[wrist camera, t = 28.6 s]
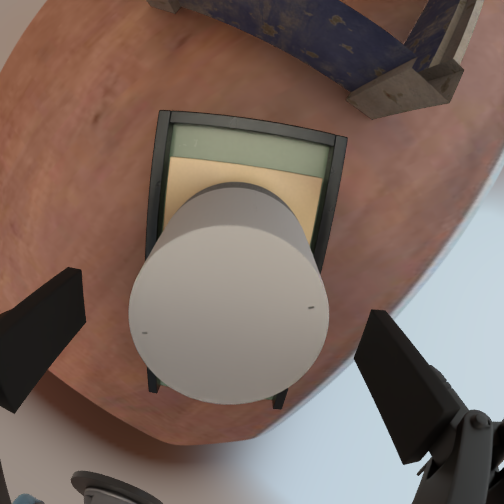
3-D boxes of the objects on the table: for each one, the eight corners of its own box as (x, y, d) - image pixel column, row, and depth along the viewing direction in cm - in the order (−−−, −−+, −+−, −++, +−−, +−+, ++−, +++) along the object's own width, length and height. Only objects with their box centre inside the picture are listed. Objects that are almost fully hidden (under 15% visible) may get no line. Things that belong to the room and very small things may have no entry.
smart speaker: (285, 168, 22) (339, 186, 9) (302, 278, 25) (350, 398, 12) (166, 192, 23) (69, 242, 9) (193, 297, 25) (151, 422, 12)
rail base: (280, 394, 32) (282, 409, 30) (153, 377, 31) (147, 391, 29) (340, 139, 24) (349, 137, 21) (166, 113, 23) (157, 109, 20)
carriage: (288, 326, 28) (293, 352, 24) (162, 309, 27) (150, 333, 23) (319, 177, 24) (333, 181, 20) (173, 156, 23) (159, 156, 19)
